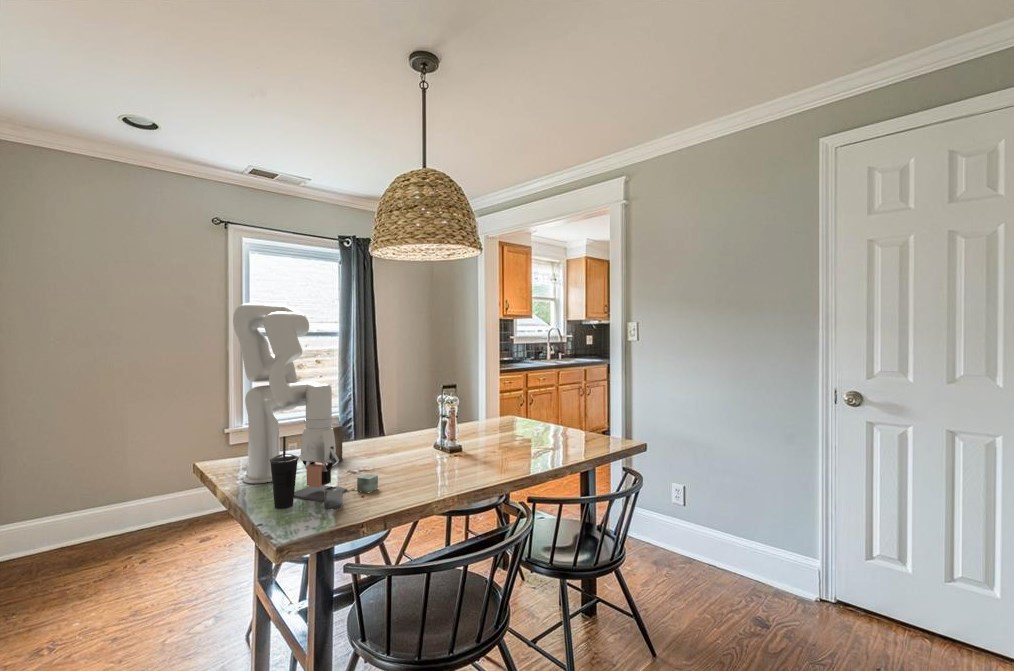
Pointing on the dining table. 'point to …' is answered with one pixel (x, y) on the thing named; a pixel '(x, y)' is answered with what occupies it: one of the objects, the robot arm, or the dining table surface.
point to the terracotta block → (315, 475)
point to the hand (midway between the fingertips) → (318, 481)
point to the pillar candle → (338, 439)
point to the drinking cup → (283, 478)
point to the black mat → (312, 493)
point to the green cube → (367, 483)
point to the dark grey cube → (333, 497)
